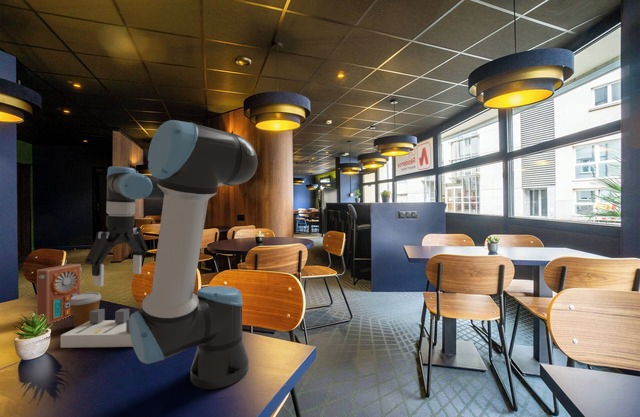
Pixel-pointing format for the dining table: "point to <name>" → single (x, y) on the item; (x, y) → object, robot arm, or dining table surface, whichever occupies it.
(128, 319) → the tab
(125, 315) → the tab
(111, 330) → the switch bank
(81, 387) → the dining table surface
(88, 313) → the disposable coffee cup
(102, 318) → the tab
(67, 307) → the control panel
